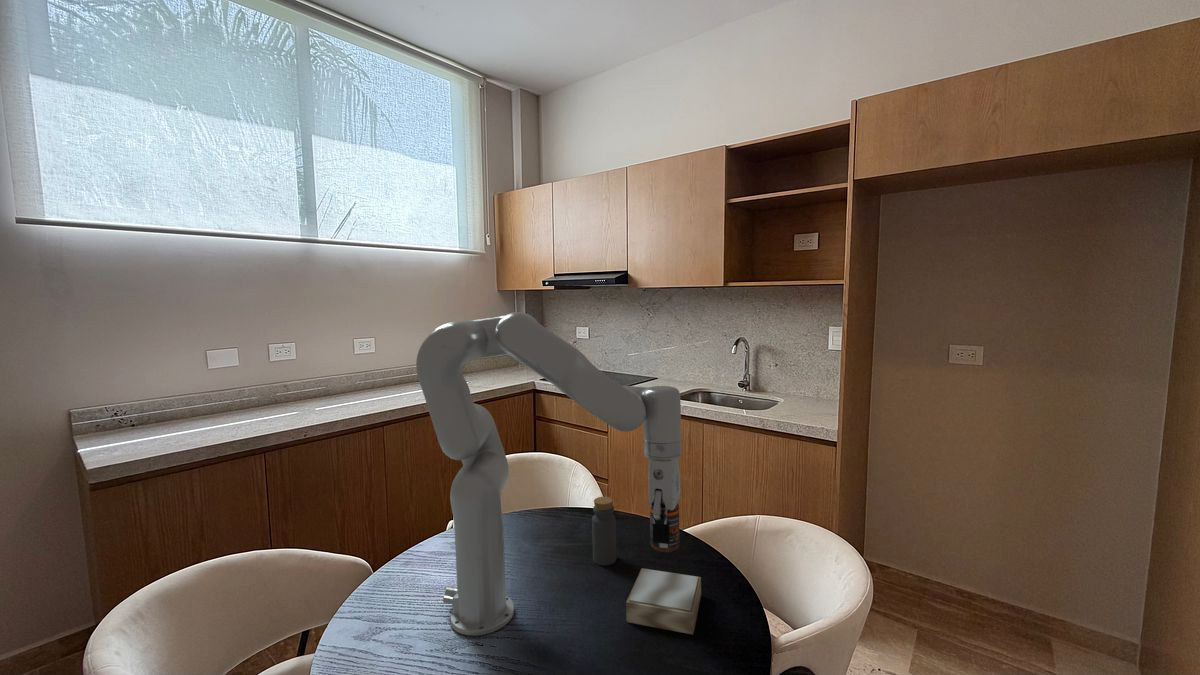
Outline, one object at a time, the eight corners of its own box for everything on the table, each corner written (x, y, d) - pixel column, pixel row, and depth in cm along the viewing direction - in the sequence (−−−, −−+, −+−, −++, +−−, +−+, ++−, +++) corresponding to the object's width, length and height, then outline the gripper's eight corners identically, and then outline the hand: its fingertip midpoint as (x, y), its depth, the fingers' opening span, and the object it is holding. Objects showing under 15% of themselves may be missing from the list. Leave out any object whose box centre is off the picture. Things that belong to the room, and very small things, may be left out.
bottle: (616, 565, 115) (615, 504, 114) (592, 565, 115) (590, 505, 114) (616, 553, 120) (615, 495, 120) (593, 553, 121) (591, 495, 120)
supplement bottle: (670, 556, 93) (669, 500, 92) (644, 548, 96) (643, 493, 96) (684, 544, 98) (683, 490, 97) (659, 536, 101) (658, 484, 101)
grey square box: (626, 621, 94) (626, 600, 93) (641, 585, 106) (641, 566, 106) (693, 634, 89) (692, 612, 89) (701, 595, 102) (700, 575, 102)
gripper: (673, 462, 87) (676, 558, 88) (687, 437, 103) (689, 519, 104) (634, 459, 89) (636, 553, 90) (653, 436, 105) (655, 515, 106)
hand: (664, 534), depth 97 cm, fingers closed on supplement bottle, 6 cm apart
